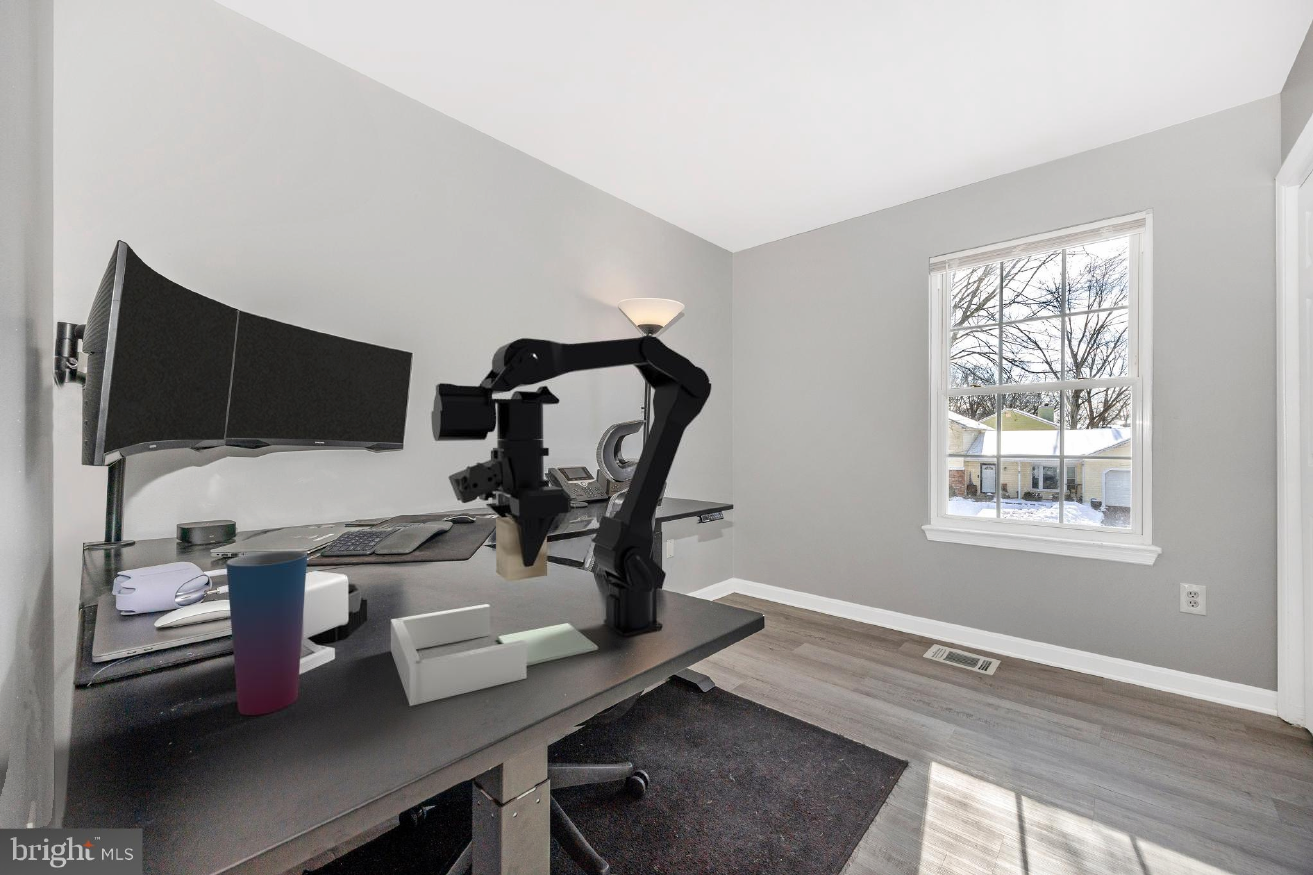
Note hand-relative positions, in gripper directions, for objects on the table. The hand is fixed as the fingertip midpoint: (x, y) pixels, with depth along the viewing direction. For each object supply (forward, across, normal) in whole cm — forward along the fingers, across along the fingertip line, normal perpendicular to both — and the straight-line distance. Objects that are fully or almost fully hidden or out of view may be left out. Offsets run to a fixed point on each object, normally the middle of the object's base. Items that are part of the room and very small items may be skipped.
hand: (521, 561), depth 71 cm
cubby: (+11, 0, -9) cm, 14 cm away
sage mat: (+11, 0, +3) cm, 12 cm away
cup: (+11, 0, -27) cm, 29 cm away
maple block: (+2, 0, 0) cm, 2 cm away
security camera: (+11, -10, -24) cm, 28 cm away
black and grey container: (+12, -21, -22) cm, 32 cm away
